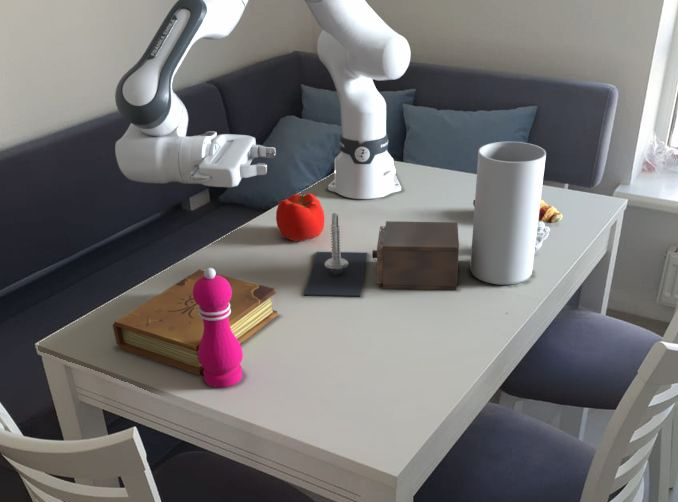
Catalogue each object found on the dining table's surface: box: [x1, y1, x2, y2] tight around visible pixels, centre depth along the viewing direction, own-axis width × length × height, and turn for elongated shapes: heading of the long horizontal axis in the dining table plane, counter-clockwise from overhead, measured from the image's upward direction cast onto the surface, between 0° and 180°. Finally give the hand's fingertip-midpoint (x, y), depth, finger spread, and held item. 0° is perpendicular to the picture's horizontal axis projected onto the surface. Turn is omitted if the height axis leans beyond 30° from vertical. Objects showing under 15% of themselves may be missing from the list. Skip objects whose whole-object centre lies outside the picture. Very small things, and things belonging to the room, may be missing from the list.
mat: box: [304, 251, 368, 298], centre depth 165 cm, size 20×11×1 cm, turn 175°
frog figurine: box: [534, 221, 551, 253], centre depth 170 cm, size 6×7×7 cm
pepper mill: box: [193, 267, 244, 389], centre depth 127 cm, size 7×7×20 cm
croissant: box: [472, 198, 564, 224], centre depth 186 cm, size 21×10×8 cm, turn 68°
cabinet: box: [382, 220, 460, 291], centre depth 161 cm, size 15×13×9 cm
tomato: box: [275, 192, 326, 242], centre depth 179 cm, size 11×12×9 cm
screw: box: [325, 212, 348, 275], centre depth 161 cm, size 13×5×5 cm
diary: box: [112, 269, 278, 376], centre depth 144 cm, size 23×19×6 cm
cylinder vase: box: [469, 141, 547, 286], centre depth 157 cm, size 12×12×25 cm
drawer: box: [371, 225, 386, 284], centre depth 161 cm, size 15×11×7 cm
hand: (271, 160), depth 153 cm, fingers open, 8 cm apart
